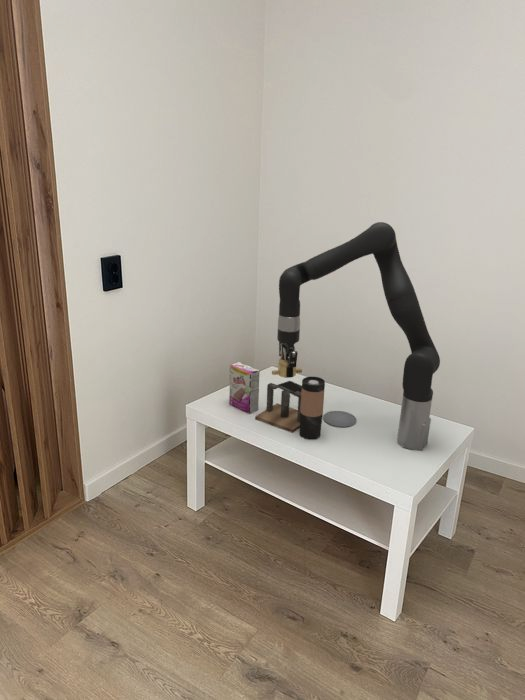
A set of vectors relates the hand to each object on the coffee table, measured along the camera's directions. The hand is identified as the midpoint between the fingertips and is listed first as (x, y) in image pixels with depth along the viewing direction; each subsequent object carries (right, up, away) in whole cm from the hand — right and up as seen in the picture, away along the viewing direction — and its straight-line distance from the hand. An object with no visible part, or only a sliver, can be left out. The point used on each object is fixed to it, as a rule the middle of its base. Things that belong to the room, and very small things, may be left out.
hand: (286, 373), depth 193 cm
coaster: (+19, -17, +7) cm, 27 cm away
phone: (+5, -9, +30) cm, 32 cm away
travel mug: (+8, -21, -4) cm, 23 cm away
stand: (-1, -17, +6) cm, 18 cm away
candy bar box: (-16, -14, +14) cm, 25 cm away
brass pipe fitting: (0, 0, 0) cm, 0 cm away
